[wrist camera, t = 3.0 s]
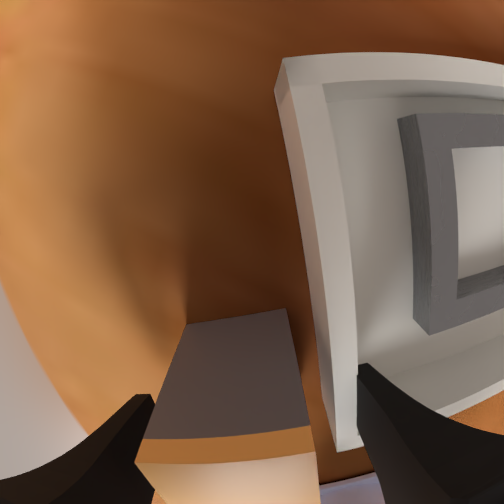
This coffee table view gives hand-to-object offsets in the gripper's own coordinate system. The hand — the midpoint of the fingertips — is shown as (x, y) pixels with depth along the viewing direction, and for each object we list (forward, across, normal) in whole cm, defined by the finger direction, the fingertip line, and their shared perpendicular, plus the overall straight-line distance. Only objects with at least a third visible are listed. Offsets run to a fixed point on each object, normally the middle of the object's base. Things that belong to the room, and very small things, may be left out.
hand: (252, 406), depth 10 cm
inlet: (+3, -11, -5) cm, 12 cm away
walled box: (+3, -11, -4) cm, 12 cm away
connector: (+3, 0, 0) cm, 3 cm away
